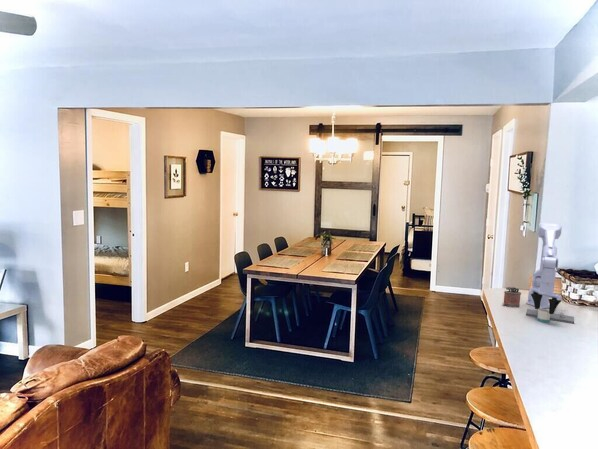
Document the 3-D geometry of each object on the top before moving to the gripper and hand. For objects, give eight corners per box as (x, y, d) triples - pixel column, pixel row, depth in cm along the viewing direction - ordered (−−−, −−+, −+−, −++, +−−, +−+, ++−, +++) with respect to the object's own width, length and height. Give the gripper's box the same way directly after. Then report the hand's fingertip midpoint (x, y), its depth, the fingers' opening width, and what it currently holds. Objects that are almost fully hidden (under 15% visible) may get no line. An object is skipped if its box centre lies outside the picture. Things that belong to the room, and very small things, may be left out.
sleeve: (535, 319, 218) (536, 309, 217) (542, 318, 219) (543, 308, 219) (544, 322, 213) (545, 312, 213) (551, 321, 215) (552, 311, 214)
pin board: (525, 315, 223) (526, 305, 223) (527, 310, 231) (528, 301, 230) (574, 323, 213) (575, 313, 213) (573, 318, 221) (575, 308, 221)
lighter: (518, 305, 239) (520, 286, 238) (520, 307, 236) (522, 288, 235) (501, 304, 240) (503, 285, 239) (504, 306, 237) (506, 287, 235)
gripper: (527, 279, 219) (524, 307, 221) (555, 287, 206) (552, 316, 208) (538, 278, 222) (535, 306, 224) (566, 286, 209) (563, 315, 210)
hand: (544, 311), depth 216 cm, fingers open, 7 cm apart
